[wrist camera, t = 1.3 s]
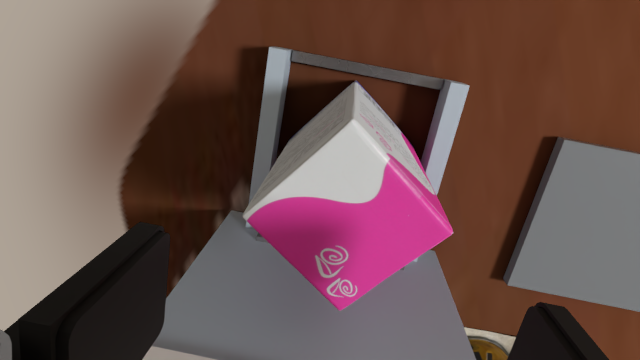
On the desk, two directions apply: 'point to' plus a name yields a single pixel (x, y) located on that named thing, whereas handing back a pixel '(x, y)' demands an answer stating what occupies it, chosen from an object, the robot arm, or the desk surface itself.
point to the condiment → (489, 344)
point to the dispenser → (297, 292)
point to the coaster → (583, 227)
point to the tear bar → (367, 70)
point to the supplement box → (348, 200)
